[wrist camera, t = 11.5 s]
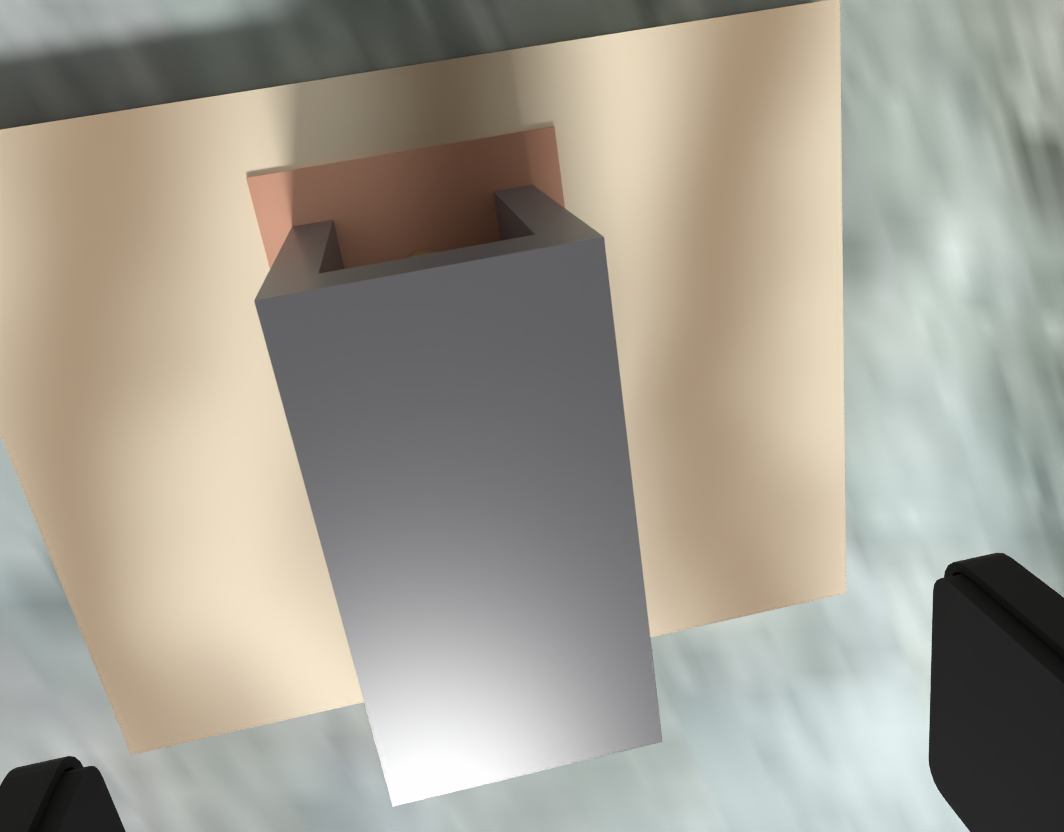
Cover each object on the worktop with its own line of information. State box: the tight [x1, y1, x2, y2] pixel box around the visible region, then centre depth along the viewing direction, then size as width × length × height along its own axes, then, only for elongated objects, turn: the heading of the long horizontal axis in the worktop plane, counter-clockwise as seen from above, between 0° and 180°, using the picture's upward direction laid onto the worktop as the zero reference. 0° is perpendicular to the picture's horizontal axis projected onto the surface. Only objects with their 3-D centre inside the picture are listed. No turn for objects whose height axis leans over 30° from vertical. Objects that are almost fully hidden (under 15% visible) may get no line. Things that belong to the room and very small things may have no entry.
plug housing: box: [254, 185, 662, 806], centre depth 17 cm, size 5×9×6 cm, turn 8°
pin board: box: [0, 0, 846, 755], centre depth 19 cm, size 18×14×4 cm
